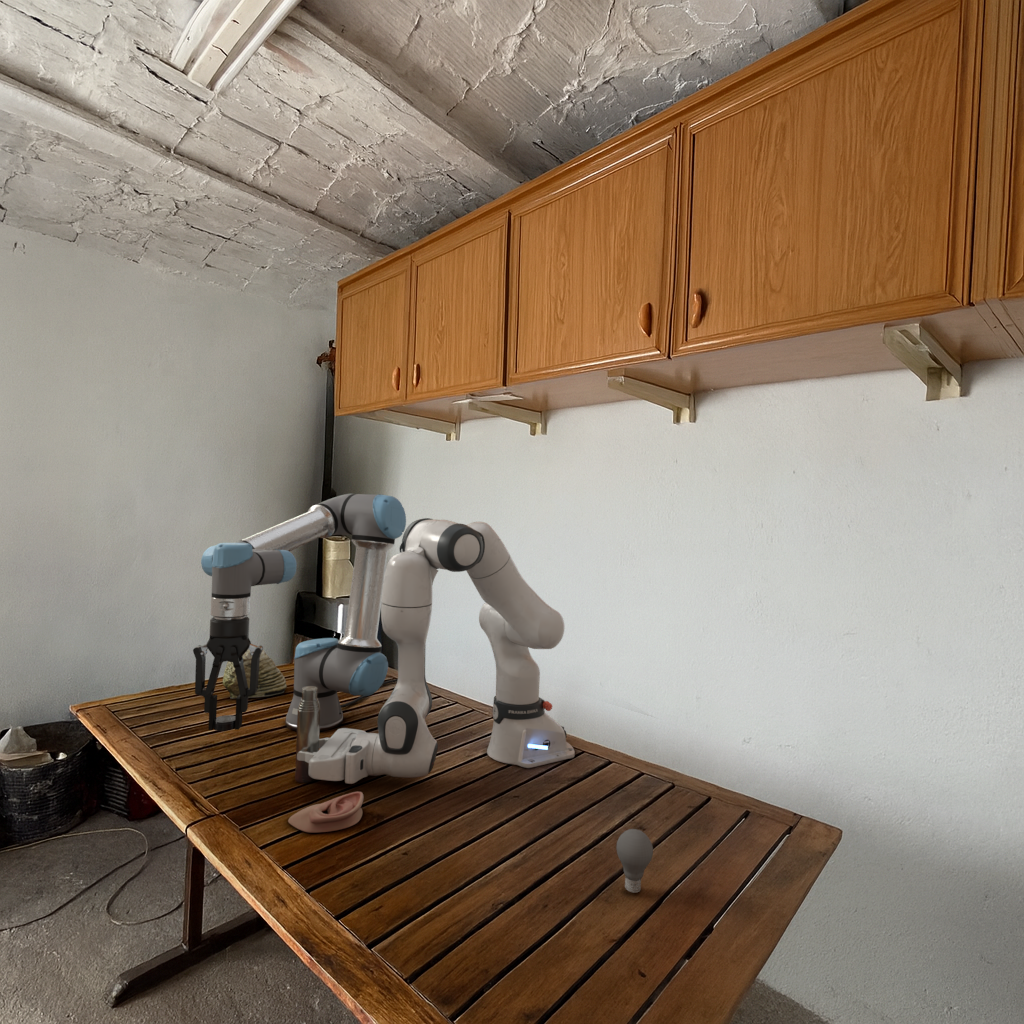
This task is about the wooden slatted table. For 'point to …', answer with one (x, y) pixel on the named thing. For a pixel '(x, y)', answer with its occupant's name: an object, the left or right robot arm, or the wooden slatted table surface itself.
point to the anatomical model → (329, 814)
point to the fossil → (267, 682)
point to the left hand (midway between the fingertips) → (225, 727)
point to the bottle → (307, 730)
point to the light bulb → (634, 857)
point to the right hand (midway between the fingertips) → (303, 749)
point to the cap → (224, 723)
